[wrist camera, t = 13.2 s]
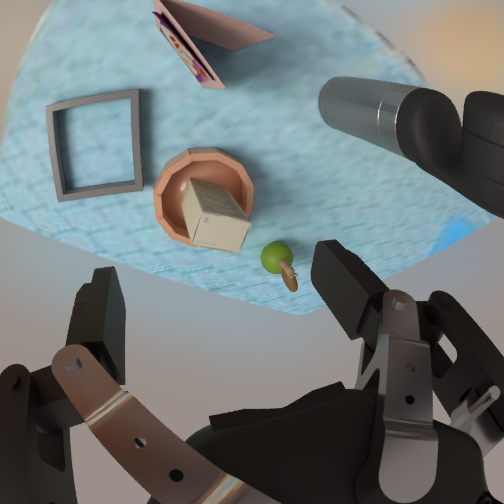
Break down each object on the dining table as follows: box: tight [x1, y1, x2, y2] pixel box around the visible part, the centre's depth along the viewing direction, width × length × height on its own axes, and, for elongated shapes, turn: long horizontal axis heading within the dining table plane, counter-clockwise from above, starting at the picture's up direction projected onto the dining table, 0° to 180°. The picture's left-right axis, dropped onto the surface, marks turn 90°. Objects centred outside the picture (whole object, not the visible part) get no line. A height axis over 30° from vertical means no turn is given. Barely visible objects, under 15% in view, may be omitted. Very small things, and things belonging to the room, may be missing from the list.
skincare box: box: [181, 178, 252, 253], centre depth 37 cm, size 6×4×12 cm
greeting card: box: [153, 0, 275, 89], centre depth 24 cm, size 11×7×15 cm, turn 32°
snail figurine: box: [261, 242, 298, 292], centre depth 47 cm, size 5×6×12 cm
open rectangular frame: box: [46, 89, 144, 202], centre depth 32 cm, size 13×14×2 cm
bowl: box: [154, 147, 254, 247], centre depth 41 cm, size 14×14×4 cm
